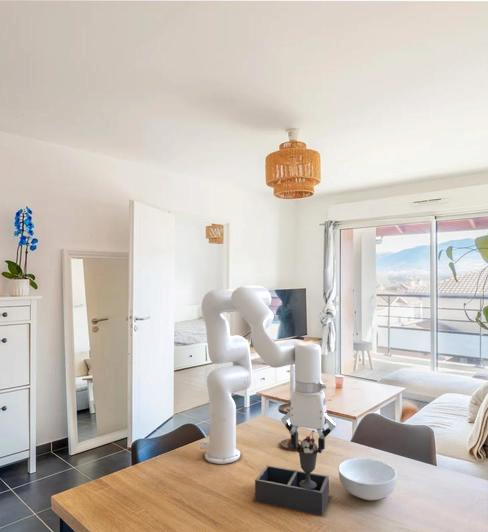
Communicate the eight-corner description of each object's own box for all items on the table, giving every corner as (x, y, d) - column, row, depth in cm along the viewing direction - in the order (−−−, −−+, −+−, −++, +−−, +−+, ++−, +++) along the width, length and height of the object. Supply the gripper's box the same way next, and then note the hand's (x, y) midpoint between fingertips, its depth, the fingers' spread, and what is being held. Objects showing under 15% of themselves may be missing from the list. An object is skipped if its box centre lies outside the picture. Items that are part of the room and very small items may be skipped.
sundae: (322, 481, 116) (322, 429, 117) (315, 492, 110) (315, 437, 111) (300, 477, 119) (300, 425, 120) (293, 487, 113) (293, 433, 114)
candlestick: (279, 452, 148) (279, 356, 149) (277, 440, 159) (277, 351, 160) (308, 452, 148) (308, 356, 149) (304, 440, 159) (304, 351, 160)
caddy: (322, 515, 108) (322, 493, 108) (254, 501, 115) (254, 480, 115) (328, 496, 118) (328, 476, 118) (266, 484, 124) (266, 465, 125)
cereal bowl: (357, 474, 131) (357, 452, 132) (407, 493, 119) (406, 469, 120) (327, 493, 119) (327, 469, 120) (378, 517, 108) (378, 490, 108)
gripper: (340, 386, 116) (340, 448, 116) (282, 380, 122) (282, 440, 122) (335, 393, 109) (336, 459, 109) (275, 386, 115) (275, 450, 115)
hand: (308, 448), depth 115 cm, fingers closed on sundae, 6 cm apart
